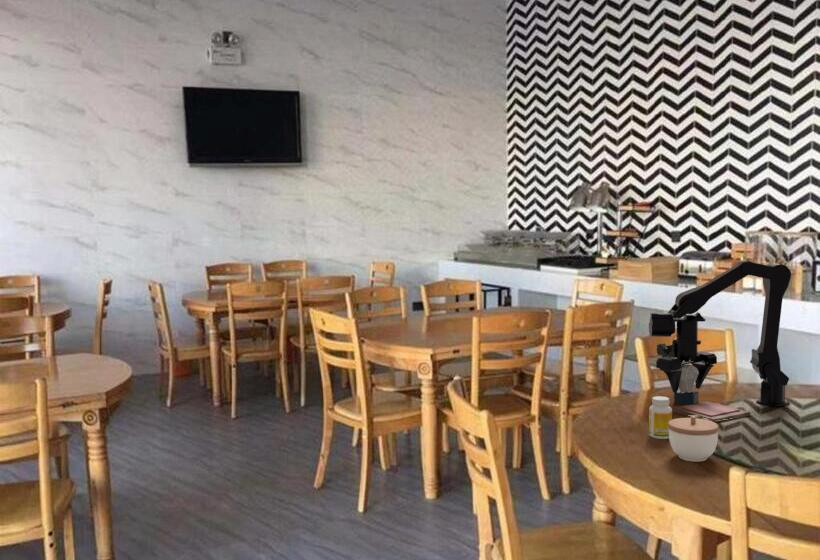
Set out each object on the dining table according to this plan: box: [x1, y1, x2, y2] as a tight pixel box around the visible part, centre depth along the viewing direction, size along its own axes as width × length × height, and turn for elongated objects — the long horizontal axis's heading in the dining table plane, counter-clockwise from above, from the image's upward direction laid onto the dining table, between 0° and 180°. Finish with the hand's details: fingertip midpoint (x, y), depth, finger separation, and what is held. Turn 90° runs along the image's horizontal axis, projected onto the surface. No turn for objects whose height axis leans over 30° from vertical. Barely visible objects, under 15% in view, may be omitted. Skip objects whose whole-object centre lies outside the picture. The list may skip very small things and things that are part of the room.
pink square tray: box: [671, 401, 751, 421], centre depth 214 cm, size 14×14×1 cm
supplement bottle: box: [648, 395, 673, 440], centre depth 194 cm, size 5×5×10 cm
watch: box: [673, 364, 700, 406], centre depth 226 cm, size 6×8×11 cm
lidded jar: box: [668, 416, 720, 463], centre depth 177 cm, size 11×11×9 cm
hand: (686, 390), depth 226 cm, fingers open, 9 cm apart
